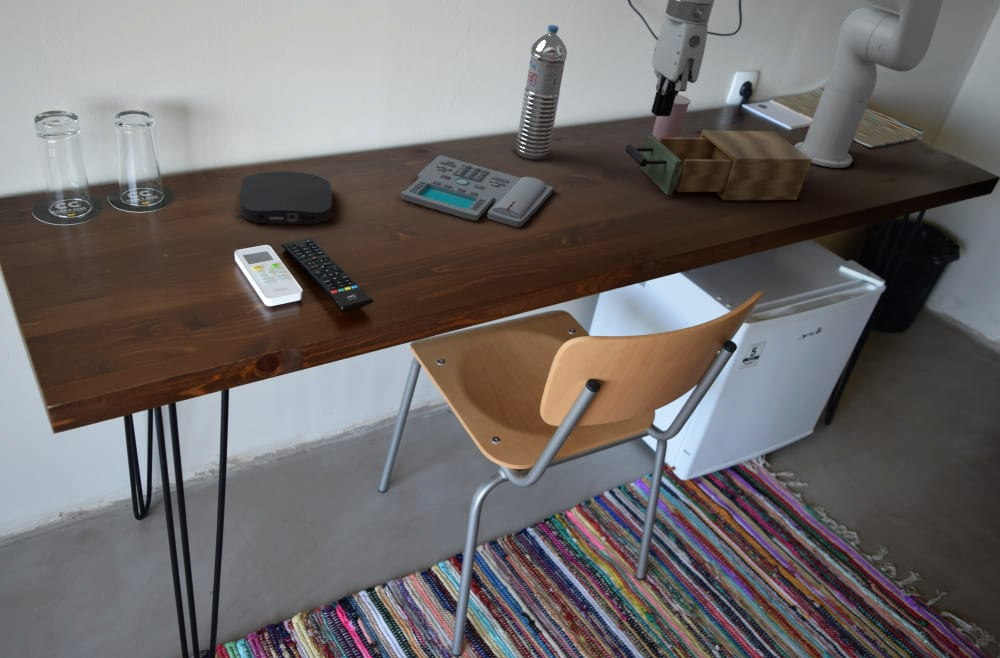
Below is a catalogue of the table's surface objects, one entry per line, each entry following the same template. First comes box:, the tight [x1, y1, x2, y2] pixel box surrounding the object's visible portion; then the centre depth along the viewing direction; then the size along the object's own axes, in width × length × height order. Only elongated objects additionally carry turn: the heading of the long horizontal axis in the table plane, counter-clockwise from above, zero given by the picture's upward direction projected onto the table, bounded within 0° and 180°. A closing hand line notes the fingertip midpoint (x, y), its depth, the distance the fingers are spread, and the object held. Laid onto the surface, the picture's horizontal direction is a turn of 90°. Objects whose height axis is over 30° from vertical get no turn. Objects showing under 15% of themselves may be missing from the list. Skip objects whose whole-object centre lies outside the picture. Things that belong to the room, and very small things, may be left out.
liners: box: [651, 94, 691, 140], centre depth 169 cm, size 6×6×12 cm
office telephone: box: [400, 154, 554, 228], centre depth 145 cm, size 23×3×20 cm
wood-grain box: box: [699, 129, 812, 201], centre depth 161 cm, size 17×14×9 cm
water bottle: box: [515, 24, 568, 161], centre depth 157 cm, size 7×7×25 cm
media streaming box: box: [239, 171, 333, 225], centre depth 134 cm, size 15×15×3 cm
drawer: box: [624, 134, 734, 196], centre depth 157 cm, size 21×13×7 cm, turn 104°
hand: (660, 114), depth 150 cm, fingers closed
